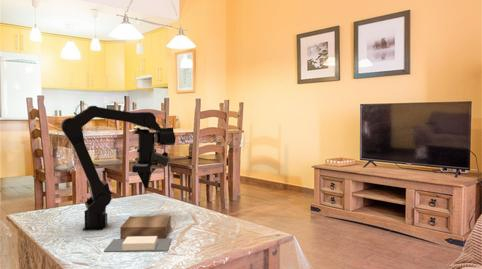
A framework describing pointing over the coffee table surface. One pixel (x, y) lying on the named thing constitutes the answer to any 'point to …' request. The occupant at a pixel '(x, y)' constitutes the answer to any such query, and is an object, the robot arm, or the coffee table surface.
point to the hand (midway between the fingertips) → (146, 188)
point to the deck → (146, 226)
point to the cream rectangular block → (140, 243)
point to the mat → (117, 247)
